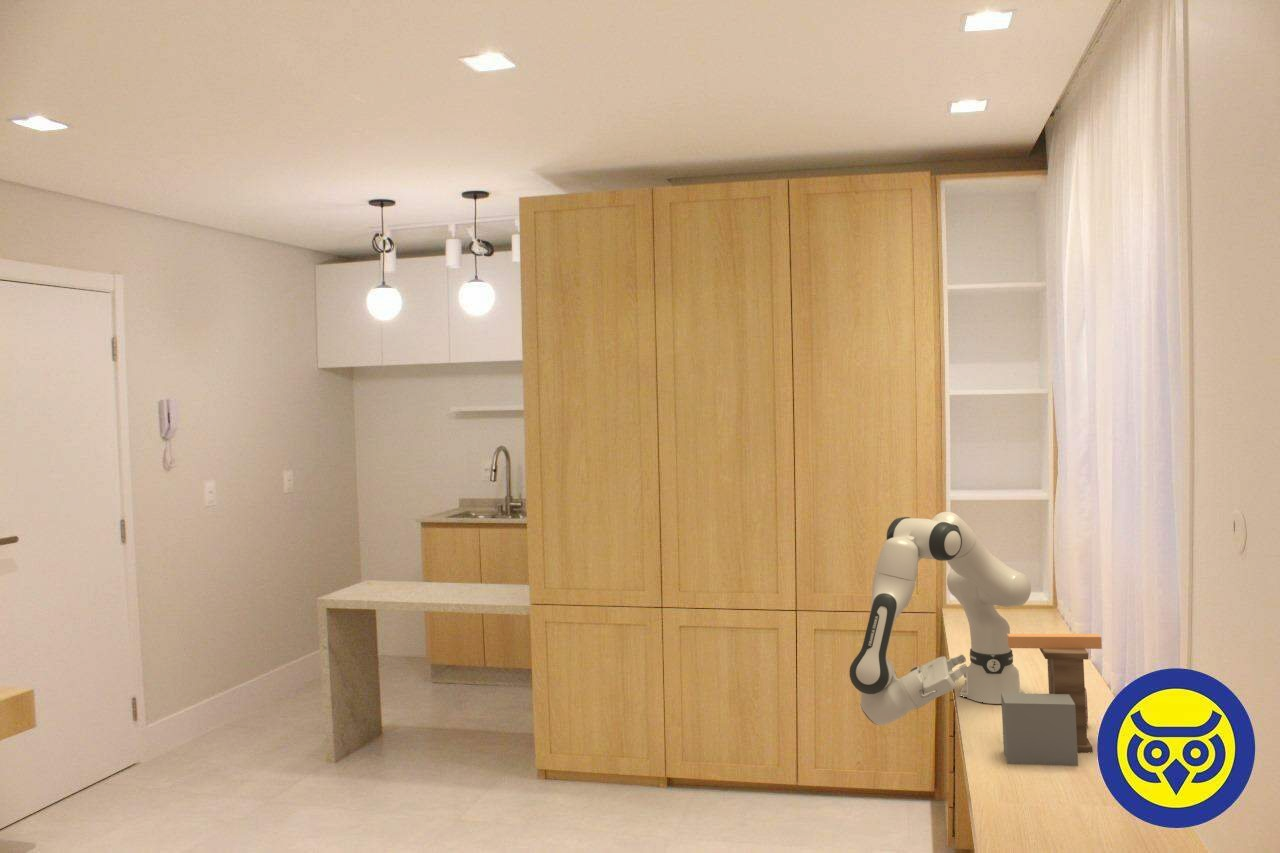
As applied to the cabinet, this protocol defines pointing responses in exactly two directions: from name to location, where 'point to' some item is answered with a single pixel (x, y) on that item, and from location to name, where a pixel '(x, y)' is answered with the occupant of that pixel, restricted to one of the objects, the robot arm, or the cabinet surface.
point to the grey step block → (1039, 729)
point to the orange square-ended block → (1055, 641)
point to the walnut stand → (1070, 685)
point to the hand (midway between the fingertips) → (966, 662)
